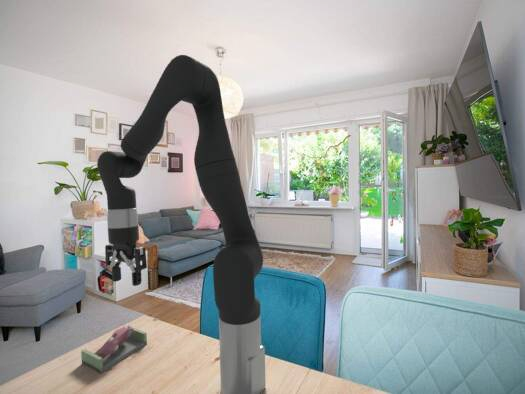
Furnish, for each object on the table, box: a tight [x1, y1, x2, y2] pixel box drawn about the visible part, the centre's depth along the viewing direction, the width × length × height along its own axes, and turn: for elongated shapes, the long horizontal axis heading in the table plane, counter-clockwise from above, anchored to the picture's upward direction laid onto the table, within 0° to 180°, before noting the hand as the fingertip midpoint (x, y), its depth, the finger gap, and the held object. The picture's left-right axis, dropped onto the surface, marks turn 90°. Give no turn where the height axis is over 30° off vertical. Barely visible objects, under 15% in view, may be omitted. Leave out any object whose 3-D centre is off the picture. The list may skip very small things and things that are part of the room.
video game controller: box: [94, 325, 134, 358], centre depth 74 cm, size 10×5×7 cm, turn 173°
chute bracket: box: [80, 325, 148, 374], centre depth 74 cm, size 8×14×4 cm, turn 151°
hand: (126, 282), depth 75 cm, fingers open, 8 cm apart
